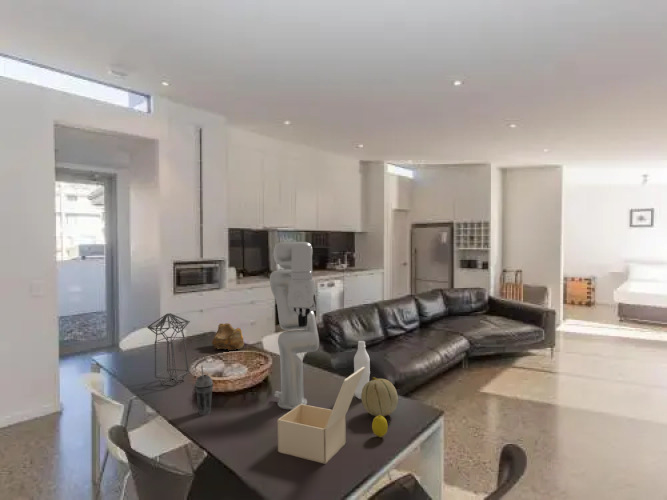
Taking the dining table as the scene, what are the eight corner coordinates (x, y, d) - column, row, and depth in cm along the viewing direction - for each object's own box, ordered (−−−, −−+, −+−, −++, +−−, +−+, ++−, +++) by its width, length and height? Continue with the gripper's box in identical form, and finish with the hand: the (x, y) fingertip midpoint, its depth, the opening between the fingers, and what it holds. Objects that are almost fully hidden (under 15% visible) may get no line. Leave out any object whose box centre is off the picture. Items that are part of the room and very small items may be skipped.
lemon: (371, 434, 160) (370, 412, 159) (386, 433, 160) (385, 411, 160) (373, 441, 154) (373, 418, 154) (389, 440, 155) (389, 418, 154)
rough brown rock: (205, 349, 287) (203, 326, 286) (227, 342, 299) (226, 320, 297) (223, 357, 271) (221, 333, 269) (246, 349, 282) (244, 326, 280)
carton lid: (344, 379, 135) (345, 380, 135) (363, 366, 149) (364, 367, 148) (324, 428, 139) (326, 429, 139) (345, 411, 152) (346, 412, 152)
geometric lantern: (175, 389, 209) (171, 316, 208) (148, 387, 214) (144, 316, 213) (195, 378, 224) (191, 310, 223) (170, 376, 229) (166, 310, 228)
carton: (278, 452, 148) (277, 419, 147) (301, 433, 161) (300, 403, 161) (325, 463, 139) (324, 429, 139) (345, 443, 153) (345, 412, 152)
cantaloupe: (393, 425, 167) (393, 386, 166) (356, 420, 172) (356, 382, 171) (401, 410, 181) (401, 374, 180) (367, 406, 186) (366, 370, 185)
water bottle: (369, 400, 192) (368, 343, 191) (353, 399, 193) (352, 343, 192) (371, 394, 199) (370, 339, 198) (355, 393, 200) (354, 339, 199)
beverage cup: (217, 410, 184) (216, 362, 183) (207, 417, 177) (205, 368, 176) (202, 408, 186) (201, 361, 185) (191, 415, 179) (190, 366, 178)
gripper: (279, 276, 161) (280, 326, 162) (314, 278, 154) (315, 330, 155) (290, 274, 168) (291, 322, 169) (324, 276, 161) (325, 325, 162)
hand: (302, 326), depth 162 cm, fingers closed
